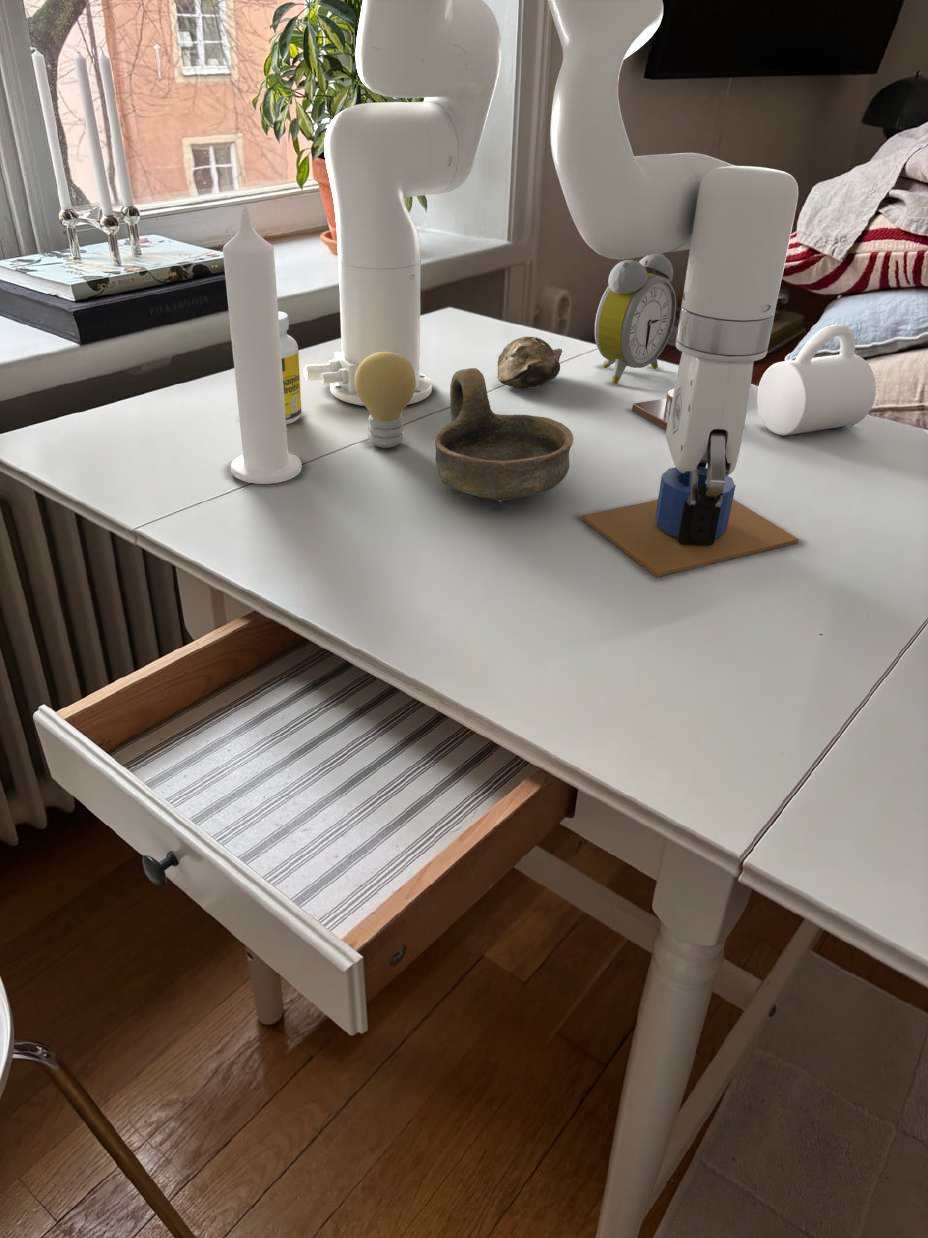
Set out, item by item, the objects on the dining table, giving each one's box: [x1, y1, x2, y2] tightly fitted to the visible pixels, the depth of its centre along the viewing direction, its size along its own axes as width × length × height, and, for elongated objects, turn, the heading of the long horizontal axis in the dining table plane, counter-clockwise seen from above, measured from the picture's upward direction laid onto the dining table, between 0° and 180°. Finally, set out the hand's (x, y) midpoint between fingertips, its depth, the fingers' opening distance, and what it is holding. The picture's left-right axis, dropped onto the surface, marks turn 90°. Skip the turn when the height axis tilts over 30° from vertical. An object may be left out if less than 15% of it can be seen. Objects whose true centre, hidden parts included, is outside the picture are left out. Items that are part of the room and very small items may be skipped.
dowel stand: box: [631, 388, 674, 431], centre depth 112 cm, size 9×9×8 cm
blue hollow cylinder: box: [655, 466, 736, 538], centre depth 88 cm, size 6×6×4 cm
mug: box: [756, 324, 877, 437], centre depth 110 cm, size 8×10×12 cm
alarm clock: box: [594, 253, 677, 385], centre depth 124 cm, size 12×7×15 cm, turn 137°
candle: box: [222, 206, 303, 485], centre depth 91 cm, size 7×7×25 cm
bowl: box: [434, 367, 574, 503], centre depth 94 cm, size 14×18×10 cm
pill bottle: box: [278, 310, 302, 425], centre depth 107 cm, size 6×6×12 cm
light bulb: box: [355, 352, 416, 449], centre depth 102 cm, size 6×6×10 cm
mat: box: [581, 498, 800, 578], centre depth 89 cm, size 16×12×1 cm
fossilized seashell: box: [496, 336, 563, 390], centre depth 122 cm, size 8×7×10 cm
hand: (689, 523), depth 89 cm, fingers closed on blue hollow cylinder, 6 cm apart
